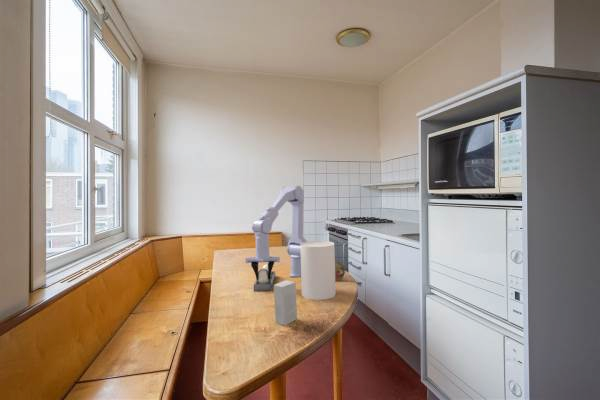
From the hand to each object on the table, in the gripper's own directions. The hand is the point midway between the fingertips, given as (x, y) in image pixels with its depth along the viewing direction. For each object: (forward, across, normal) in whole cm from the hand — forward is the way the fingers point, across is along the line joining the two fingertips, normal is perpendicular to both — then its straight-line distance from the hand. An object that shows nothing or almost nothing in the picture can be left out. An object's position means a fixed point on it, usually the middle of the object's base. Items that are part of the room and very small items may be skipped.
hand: (263, 279), depth 123 cm
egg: (+2, 0, 0) cm, 2 cm away
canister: (+4, +23, -9) cm, 25 cm away
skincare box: (+4, +11, -33) cm, 35 cm away
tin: (+4, +29, +9) cm, 31 cm away
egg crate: (+4, 0, +7) cm, 8 cm away
